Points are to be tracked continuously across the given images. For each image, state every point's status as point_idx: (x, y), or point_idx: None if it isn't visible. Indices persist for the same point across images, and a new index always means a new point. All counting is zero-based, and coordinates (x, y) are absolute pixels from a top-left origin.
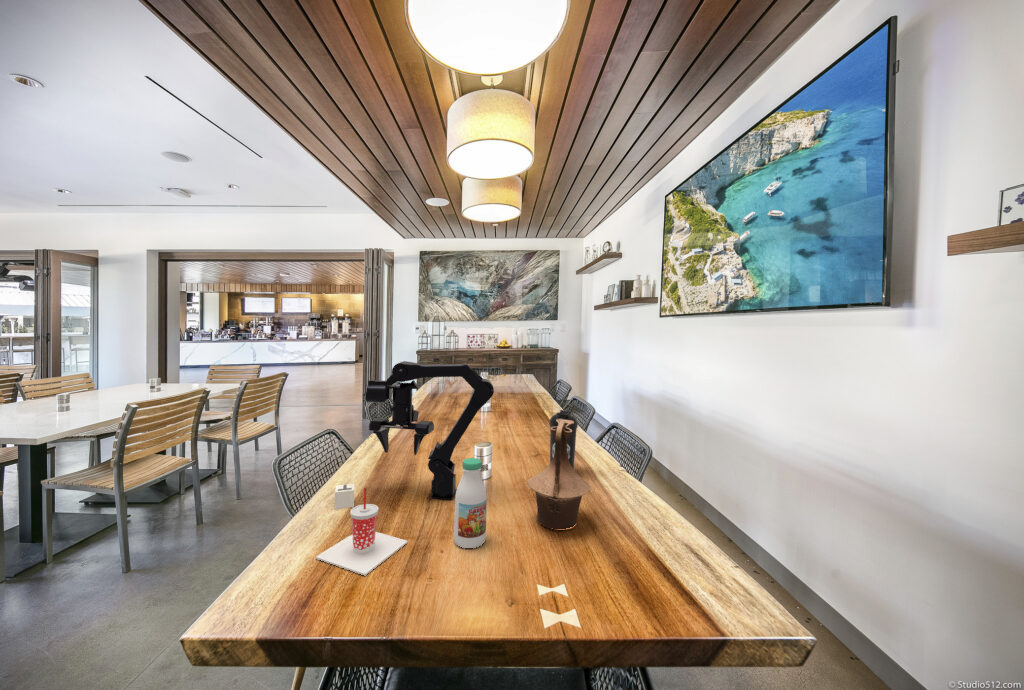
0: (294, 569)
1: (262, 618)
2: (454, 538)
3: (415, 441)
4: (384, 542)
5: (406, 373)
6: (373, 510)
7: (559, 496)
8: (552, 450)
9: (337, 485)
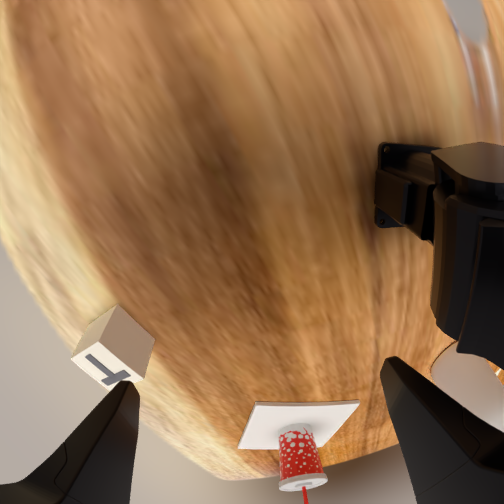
0: (227, 453)
1: (256, 473)
2: (433, 379)
3: (424, 486)
4: (321, 416)
5: None
6: (319, 481)
7: None
8: None
9: (72, 357)
